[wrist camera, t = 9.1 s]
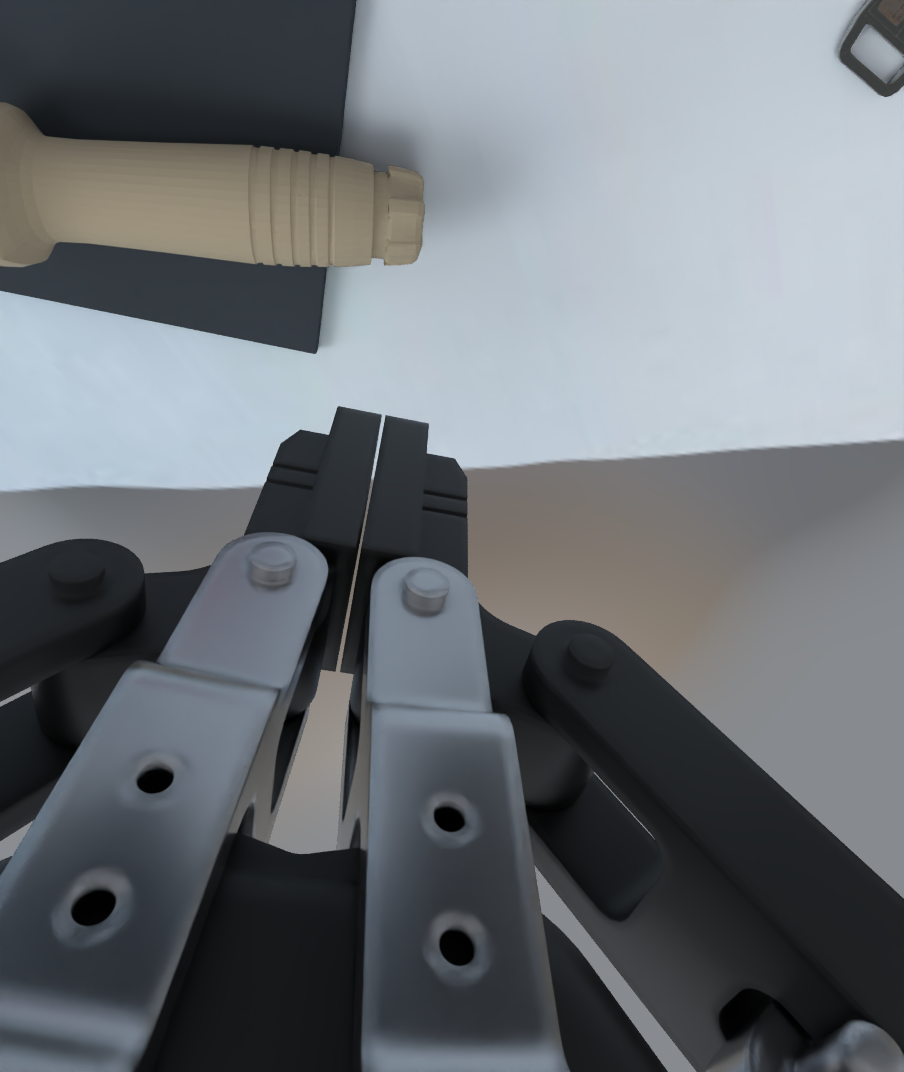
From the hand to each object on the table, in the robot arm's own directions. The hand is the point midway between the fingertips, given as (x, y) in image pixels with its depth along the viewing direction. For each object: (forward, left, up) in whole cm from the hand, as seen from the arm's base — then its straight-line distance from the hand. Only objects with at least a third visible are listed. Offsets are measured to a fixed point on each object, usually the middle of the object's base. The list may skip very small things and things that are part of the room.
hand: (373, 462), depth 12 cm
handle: (0, +1, -18) cm, 18 cm away
